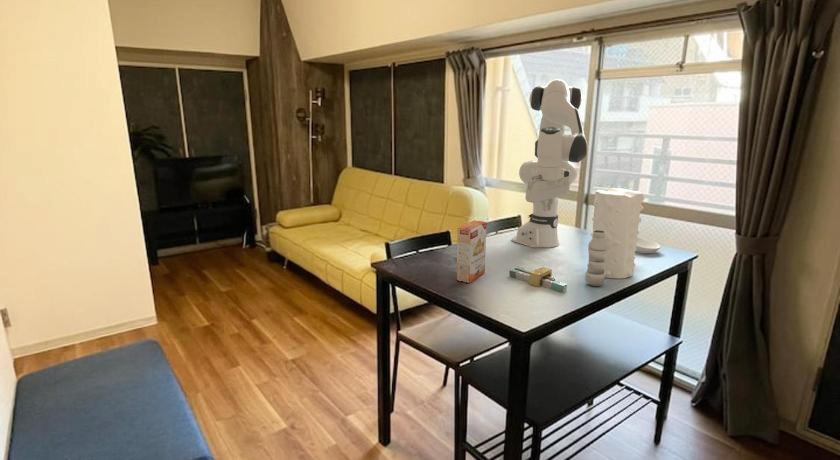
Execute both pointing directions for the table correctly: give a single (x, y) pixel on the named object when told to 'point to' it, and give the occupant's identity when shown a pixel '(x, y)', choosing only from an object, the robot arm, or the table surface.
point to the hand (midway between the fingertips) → (546, 210)
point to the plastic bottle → (596, 259)
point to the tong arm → (531, 271)
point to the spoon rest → (646, 246)
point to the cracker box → (471, 251)
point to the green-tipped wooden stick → (543, 281)
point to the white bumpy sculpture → (618, 228)
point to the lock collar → (538, 275)
